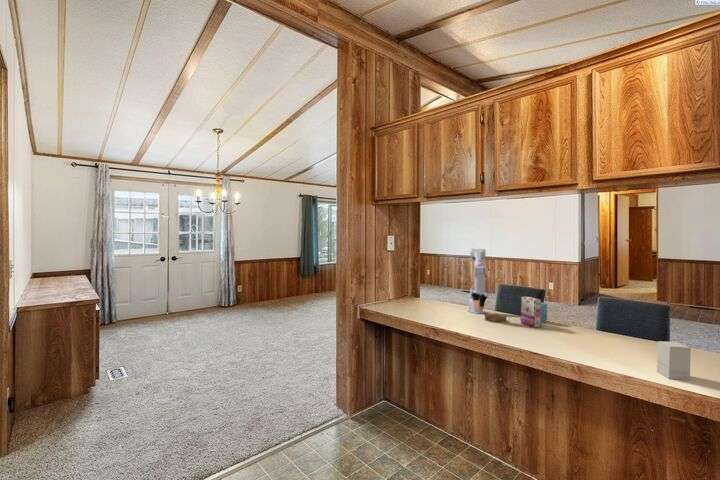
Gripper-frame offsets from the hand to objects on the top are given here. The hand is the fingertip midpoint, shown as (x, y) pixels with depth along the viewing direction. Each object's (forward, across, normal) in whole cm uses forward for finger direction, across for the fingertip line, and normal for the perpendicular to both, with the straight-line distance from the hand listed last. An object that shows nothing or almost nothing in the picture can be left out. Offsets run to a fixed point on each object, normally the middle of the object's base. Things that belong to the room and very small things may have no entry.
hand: (479, 305), depth 225 cm
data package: (+9, +17, +30) cm, 35 cm away
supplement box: (+9, +98, +10) cm, 99 cm away
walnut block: (+9, +6, +7) cm, 13 cm away
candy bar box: (+9, +23, +19) cm, 31 cm away
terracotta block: (+2, 0, 0) cm, 2 cm away
